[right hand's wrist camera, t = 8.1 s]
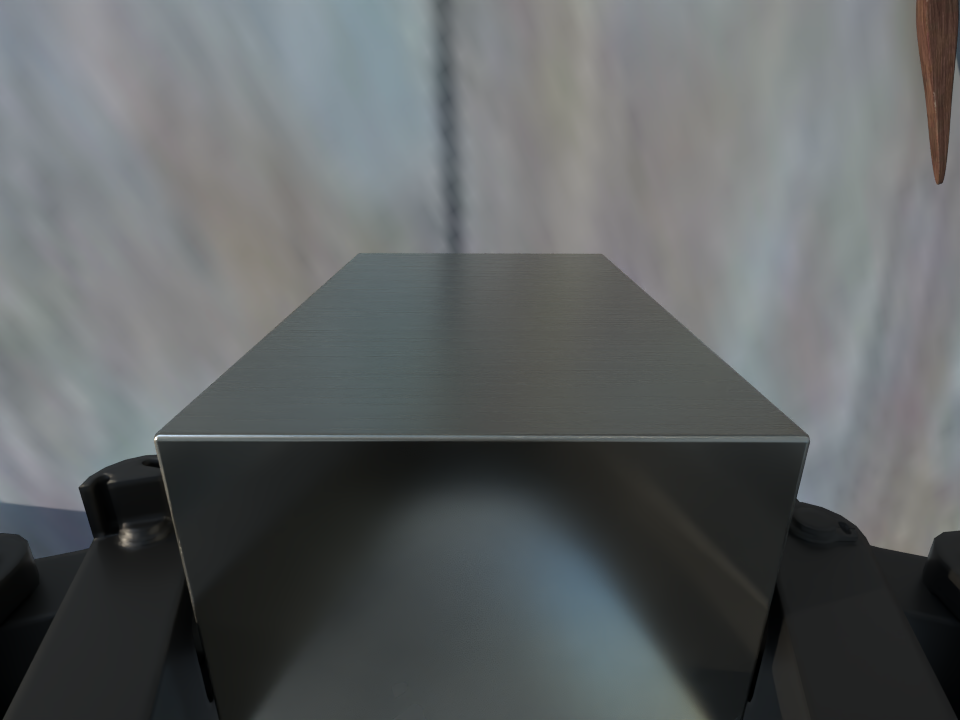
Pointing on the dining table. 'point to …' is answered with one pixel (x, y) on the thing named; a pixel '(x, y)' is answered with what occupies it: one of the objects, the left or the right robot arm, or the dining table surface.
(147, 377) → the dining table surface
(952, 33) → the fork
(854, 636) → the right robot arm
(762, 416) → the bar
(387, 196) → the dining table surface
